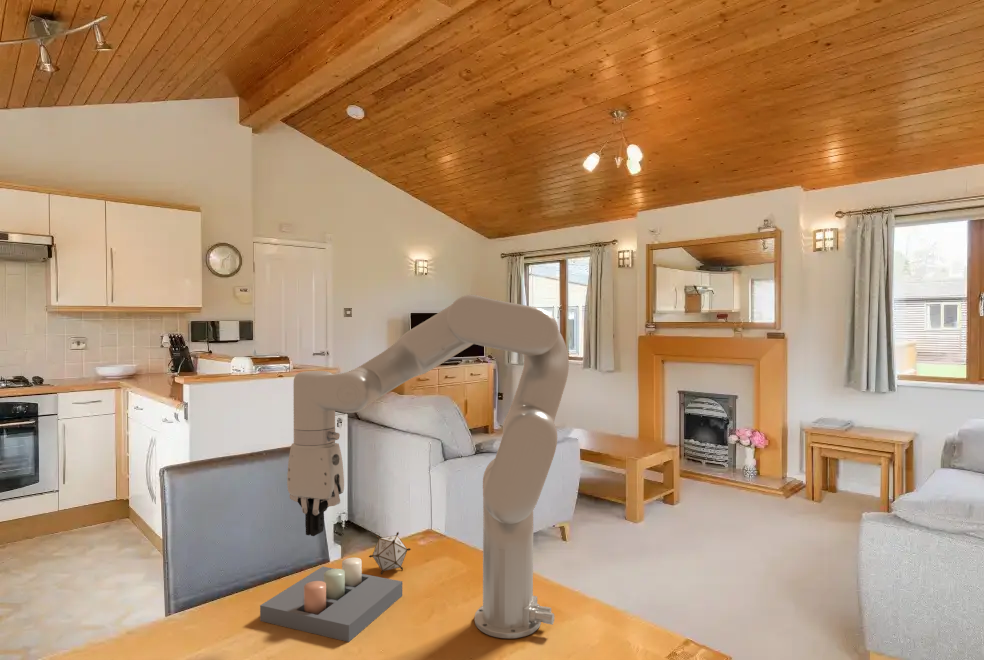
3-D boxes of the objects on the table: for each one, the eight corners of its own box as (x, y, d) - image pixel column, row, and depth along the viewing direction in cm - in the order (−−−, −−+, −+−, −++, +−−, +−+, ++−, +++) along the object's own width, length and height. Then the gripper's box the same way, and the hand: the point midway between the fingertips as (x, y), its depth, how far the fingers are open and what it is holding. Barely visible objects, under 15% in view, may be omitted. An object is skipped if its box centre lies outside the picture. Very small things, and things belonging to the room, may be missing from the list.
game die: (395, 588, 136) (405, 563, 130) (361, 574, 136) (369, 549, 130) (408, 556, 143) (418, 531, 138) (375, 543, 143) (383, 517, 138)
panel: (402, 595, 124) (402, 581, 124) (348, 641, 107) (348, 625, 107) (322, 579, 132) (322, 566, 131) (260, 620, 114) (260, 605, 114)
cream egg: (365, 582, 126) (365, 559, 126) (354, 590, 122) (354, 566, 122) (349, 579, 127) (349, 556, 127) (338, 587, 123) (338, 563, 123)
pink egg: (330, 608, 115) (330, 582, 114) (317, 618, 111) (317, 591, 111) (313, 605, 116) (313, 579, 116) (299, 614, 112) (299, 588, 112)
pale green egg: (348, 595, 120) (348, 570, 120) (336, 604, 116) (336, 578, 116) (332, 591, 122) (332, 567, 121) (319, 600, 118) (319, 575, 118)
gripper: (359, 436, 113) (359, 532, 114) (295, 430, 119) (295, 521, 119) (335, 444, 106) (335, 546, 107) (268, 437, 112) (269, 534, 112)
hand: (314, 533), depth 113 cm, fingers closed
